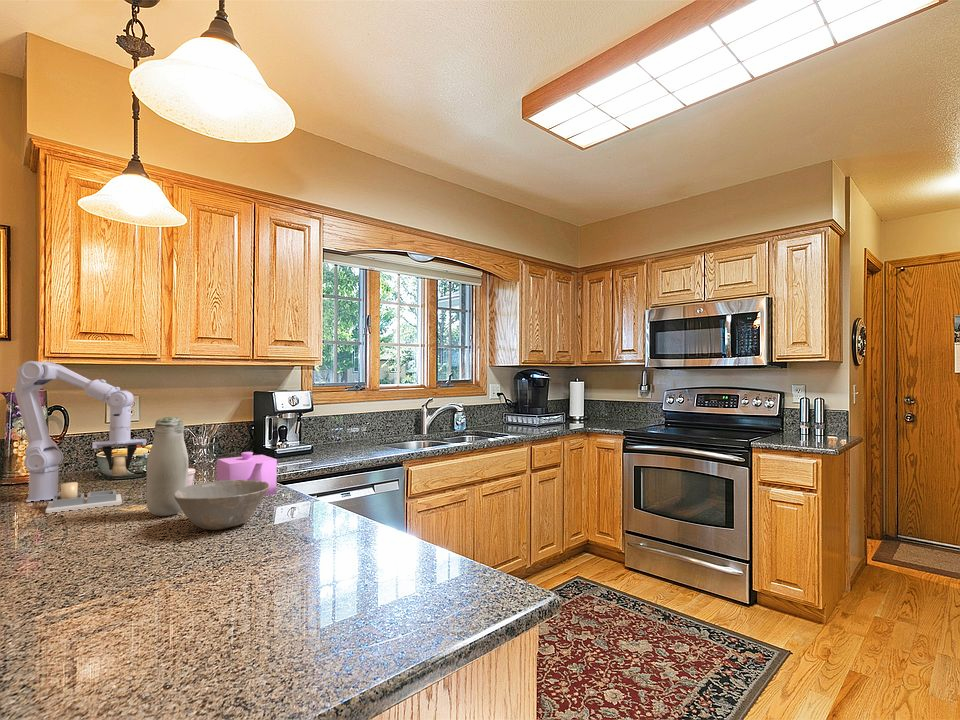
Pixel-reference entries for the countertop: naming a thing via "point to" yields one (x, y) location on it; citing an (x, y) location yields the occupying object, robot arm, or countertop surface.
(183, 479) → the glass bottle
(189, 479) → the smoothie
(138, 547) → the countertop surface
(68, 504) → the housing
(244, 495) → the ceramic bowl
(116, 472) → the jaw peg
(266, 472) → the teapot
